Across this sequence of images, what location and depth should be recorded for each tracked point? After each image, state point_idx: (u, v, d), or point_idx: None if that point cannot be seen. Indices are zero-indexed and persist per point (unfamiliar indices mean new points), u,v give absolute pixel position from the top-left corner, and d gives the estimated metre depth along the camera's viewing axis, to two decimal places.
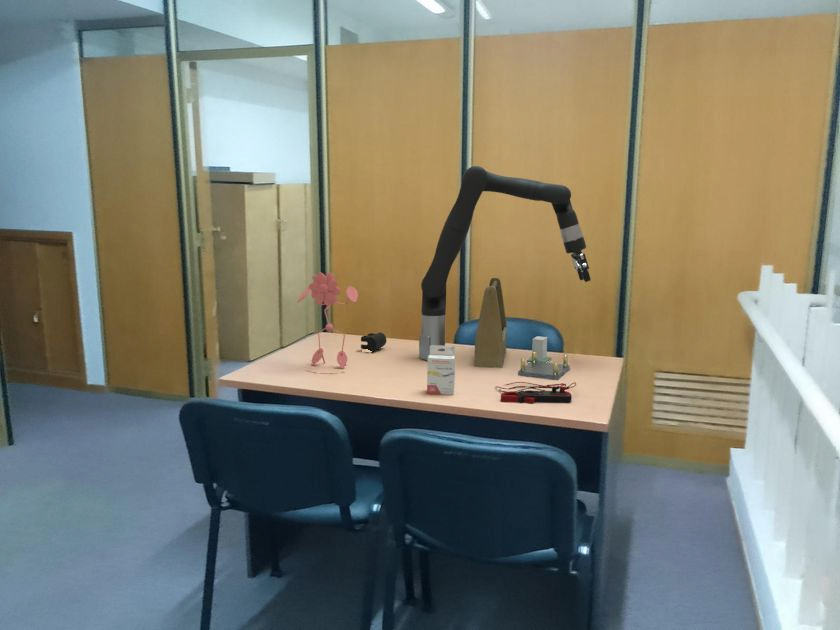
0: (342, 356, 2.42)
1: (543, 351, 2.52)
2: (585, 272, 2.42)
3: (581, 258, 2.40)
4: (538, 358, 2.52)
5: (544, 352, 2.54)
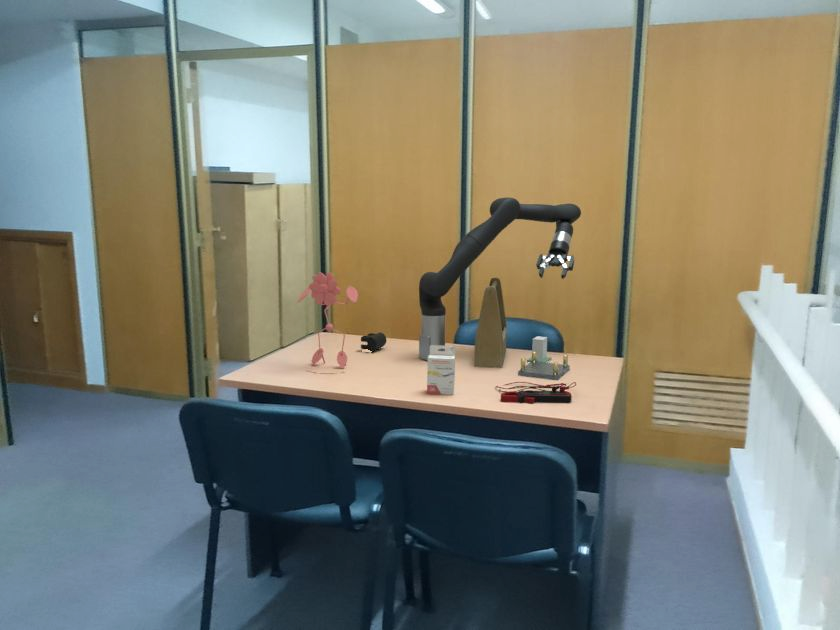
0: (342, 356, 2.42)
1: (543, 351, 2.52)
2: (566, 270, 2.59)
3: (573, 259, 2.61)
4: (538, 358, 2.52)
5: (544, 352, 2.54)
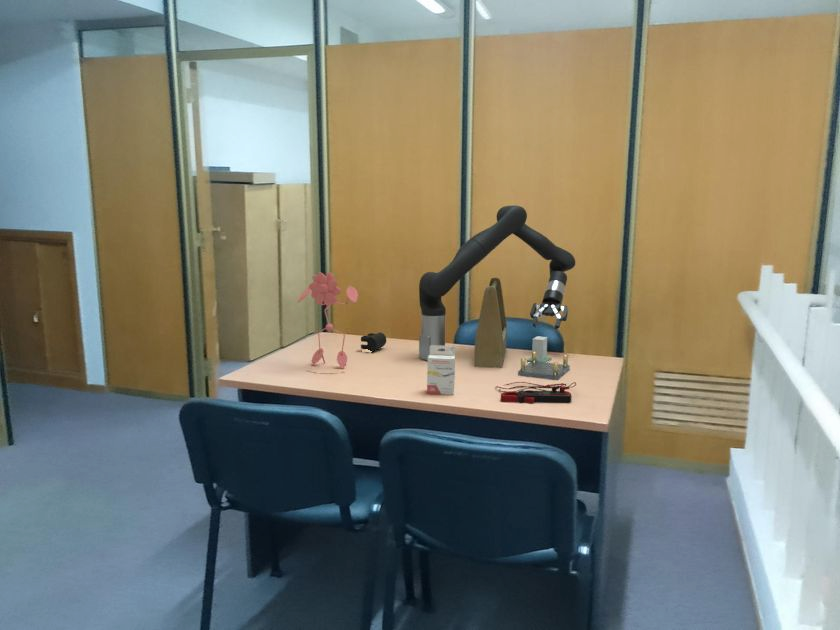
0: (342, 356, 2.42)
1: (543, 351, 2.52)
2: (560, 320, 2.59)
3: (567, 309, 2.61)
4: (538, 358, 2.52)
5: (544, 352, 2.54)
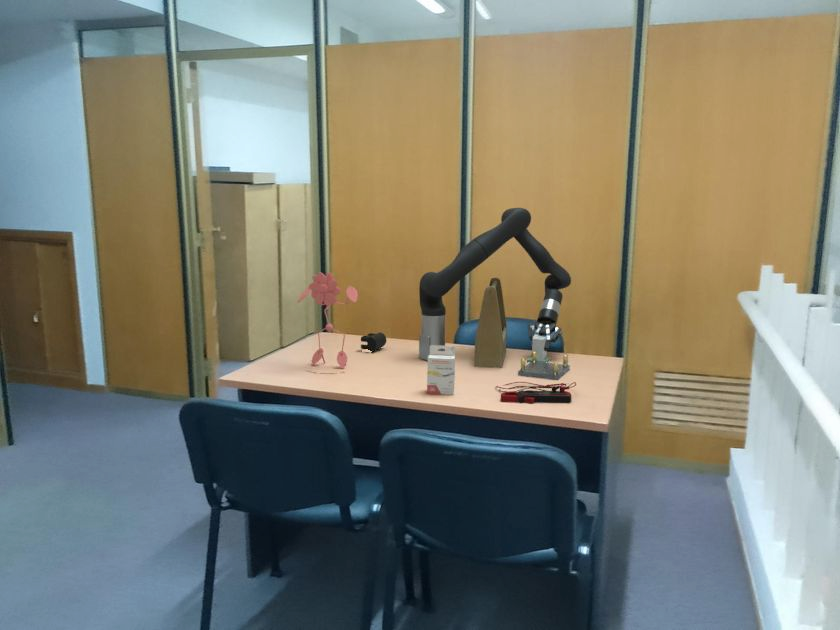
0: (342, 356, 2.42)
1: (543, 351, 2.52)
2: (549, 342, 2.54)
3: (560, 332, 2.55)
4: (538, 358, 2.52)
5: (544, 352, 2.54)
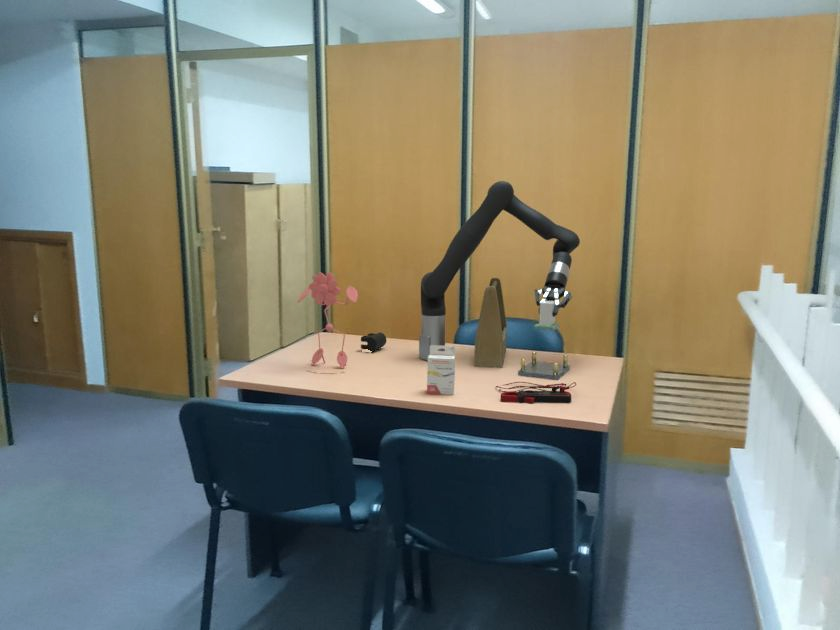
0: (342, 356, 2.42)
1: (551, 316, 2.34)
2: (558, 307, 2.36)
3: (569, 296, 2.37)
4: (546, 324, 2.34)
5: (552, 317, 2.35)
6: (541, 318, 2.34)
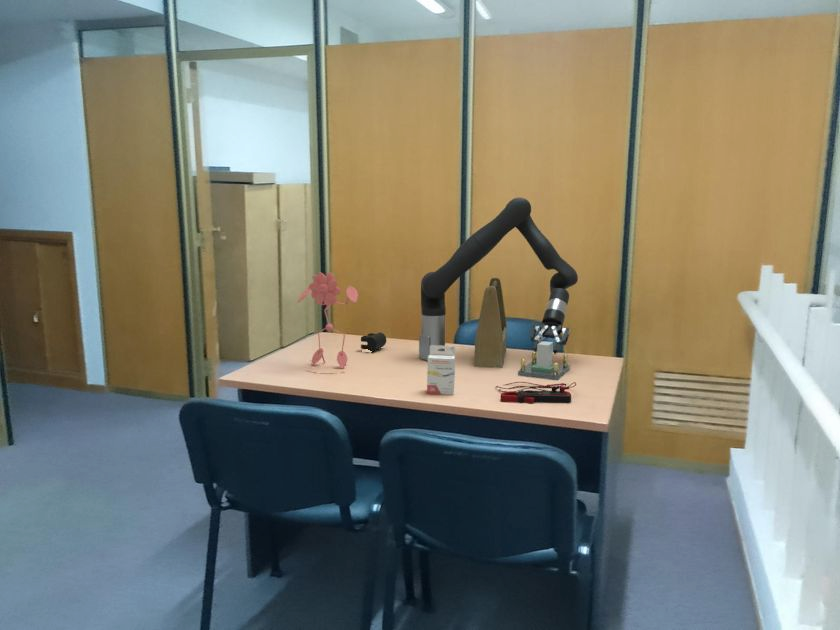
0: (342, 356, 2.42)
1: (549, 357, 2.35)
2: (559, 344, 2.36)
3: (568, 332, 2.38)
4: (543, 365, 2.34)
5: (550, 358, 2.36)
6: (538, 359, 2.35)
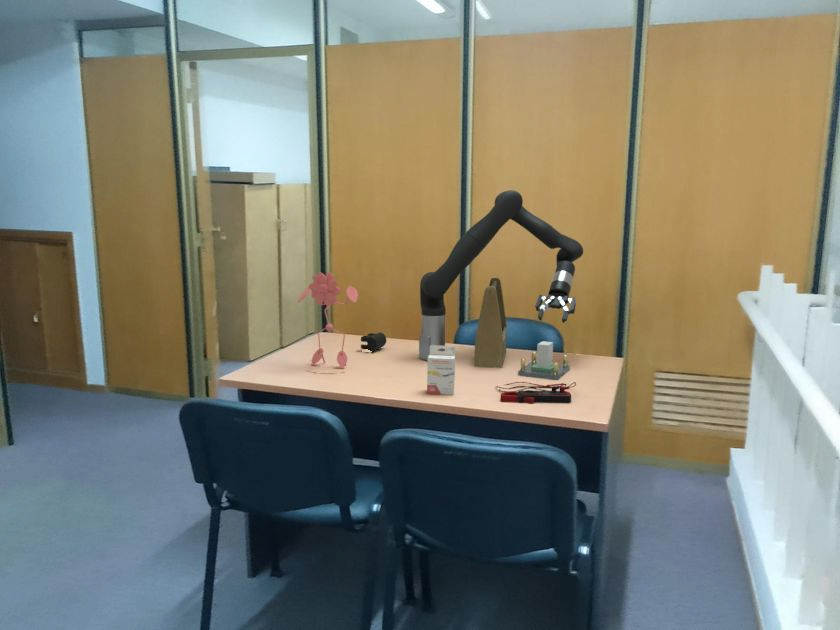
0: (342, 356, 2.42)
1: (549, 357, 2.35)
2: (567, 313, 2.43)
3: (575, 301, 2.44)
4: (543, 365, 2.34)
5: (550, 358, 2.36)
6: (538, 359, 2.35)
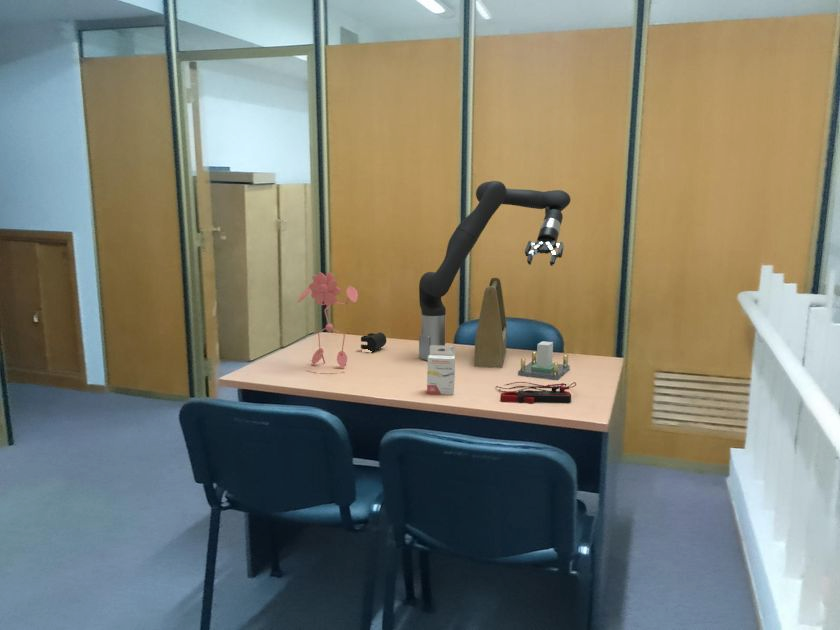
0: (342, 356, 2.42)
1: (549, 357, 2.35)
2: (555, 257, 2.54)
3: (562, 246, 2.56)
4: (543, 365, 2.34)
5: (550, 358, 2.36)
6: (538, 359, 2.35)
